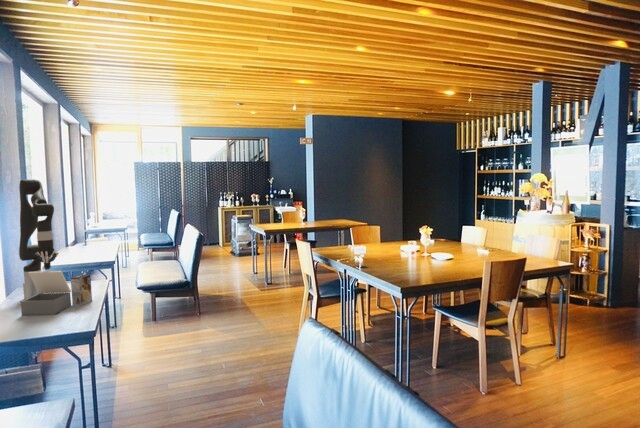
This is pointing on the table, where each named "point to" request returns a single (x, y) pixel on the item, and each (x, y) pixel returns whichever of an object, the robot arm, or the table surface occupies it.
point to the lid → (49, 282)
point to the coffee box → (81, 289)
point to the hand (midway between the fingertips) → (47, 269)
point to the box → (45, 304)
